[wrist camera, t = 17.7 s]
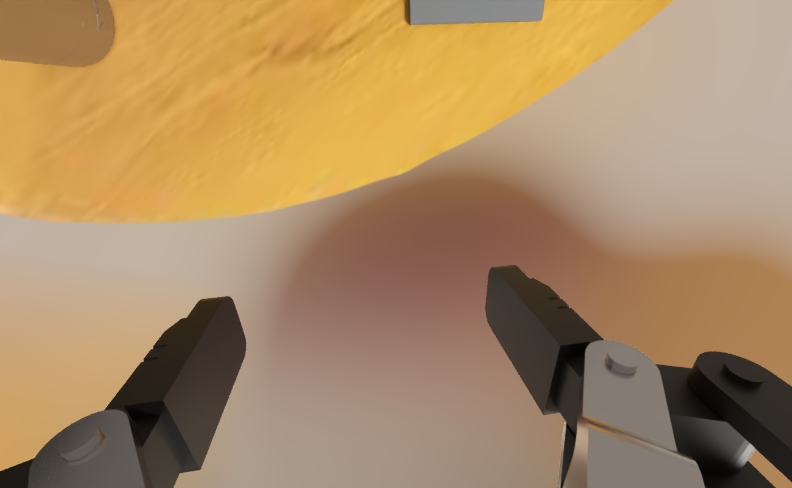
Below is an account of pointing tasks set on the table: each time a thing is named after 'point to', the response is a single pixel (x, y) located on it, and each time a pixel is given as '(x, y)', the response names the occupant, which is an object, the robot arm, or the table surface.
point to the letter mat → (474, 11)
